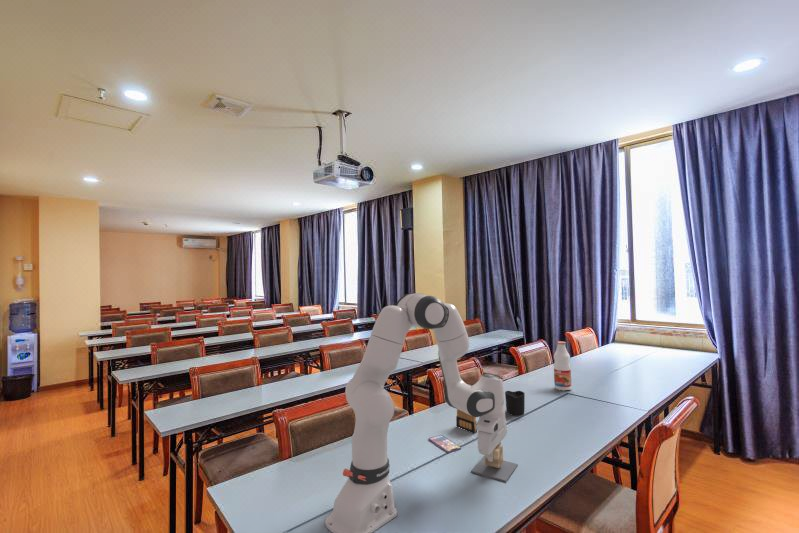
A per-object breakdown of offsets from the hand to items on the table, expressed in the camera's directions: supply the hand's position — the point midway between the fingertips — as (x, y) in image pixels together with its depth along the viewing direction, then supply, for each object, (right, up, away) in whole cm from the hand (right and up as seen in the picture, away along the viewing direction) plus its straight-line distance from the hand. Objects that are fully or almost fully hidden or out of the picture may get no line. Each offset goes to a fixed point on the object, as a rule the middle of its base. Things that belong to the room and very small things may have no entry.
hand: (494, 457), depth 140 cm
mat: (0, -4, 0) cm, 4 cm away
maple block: (0, -2, 0) cm, 2 cm away
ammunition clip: (-4, -5, +35) cm, 36 cm away
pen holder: (+24, -5, +54) cm, 59 cm away
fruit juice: (+63, -4, +89) cm, 109 cm away
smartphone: (-16, -6, +21) cm, 27 cm away
